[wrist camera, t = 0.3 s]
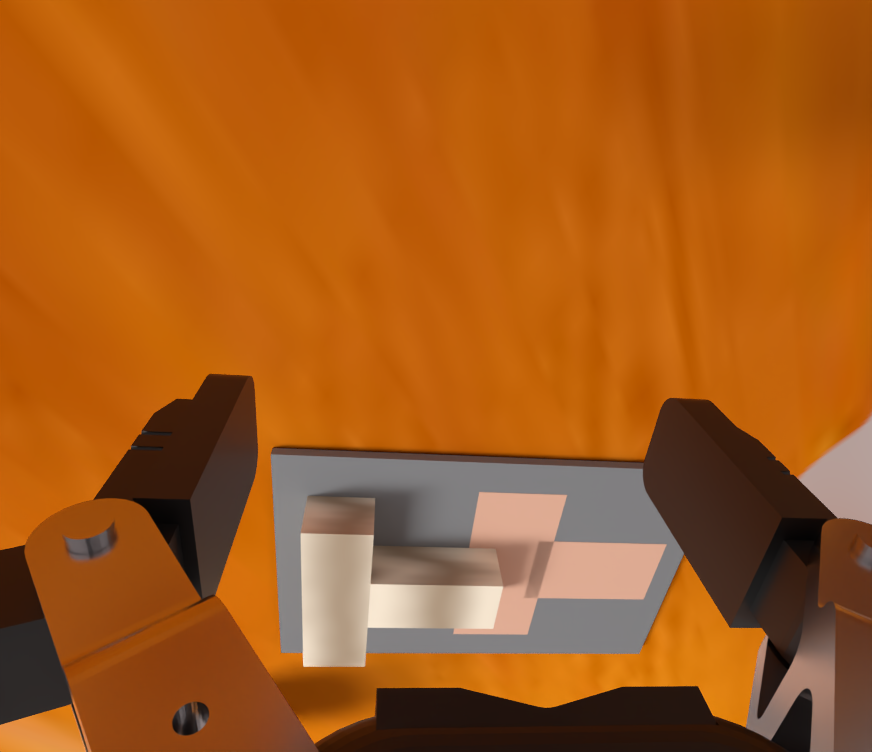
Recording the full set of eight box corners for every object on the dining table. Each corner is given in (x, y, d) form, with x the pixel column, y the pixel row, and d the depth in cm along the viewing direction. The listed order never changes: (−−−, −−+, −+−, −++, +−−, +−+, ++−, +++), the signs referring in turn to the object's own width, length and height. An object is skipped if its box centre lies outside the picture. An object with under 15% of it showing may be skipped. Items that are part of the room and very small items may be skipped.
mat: (272, 447, 33) (270, 454, 32) (715, 465, 36) (721, 472, 35) (282, 645, 42) (281, 652, 41) (636, 646, 45) (639, 653, 44)
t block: (309, 626, 40) (303, 666, 37) (307, 495, 34) (300, 533, 31) (478, 627, 41) (484, 666, 39) (505, 502, 35) (514, 538, 33)
